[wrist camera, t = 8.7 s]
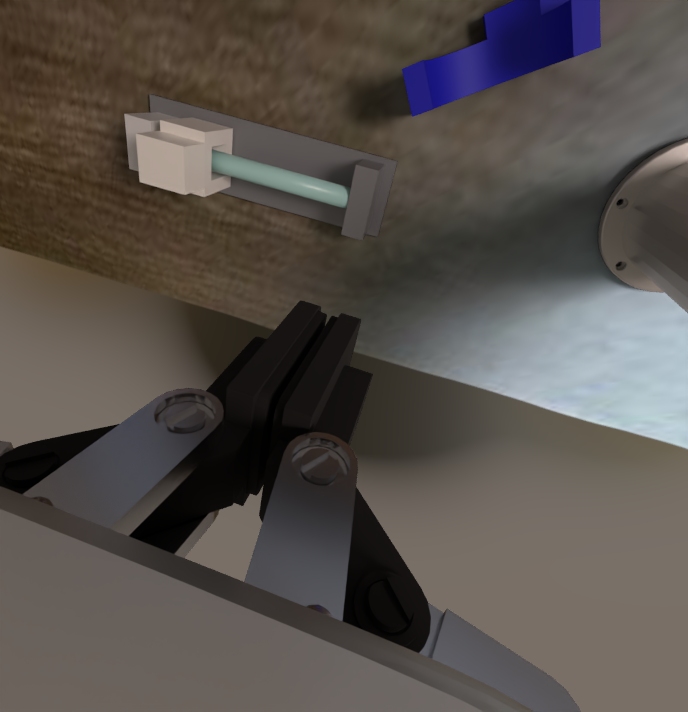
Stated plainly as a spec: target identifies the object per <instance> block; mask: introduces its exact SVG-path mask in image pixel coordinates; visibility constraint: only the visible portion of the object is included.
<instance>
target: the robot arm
mask: <svg viewBox="0 0 688 712" xmlns="http://www.w3.org/2000/svg"><path fill="white" fill-rule="evenodd" d="M619 199H622V201H621V203H620V204H616V203H617V201H618V200H619ZM598 245H599V249H600V253H601V256H602V258H603V260H604V262H605V264H606V265H607V267H608V268H609V269H610V270H611V271H612V273H613V274H614V275H616V276H617V277H618V278H619V279H620V280H621V281H623V282H624V283H626V284H628V285H630V286H632V287H634V288H638V289H641V290H645V291H650V292H661V293H664V292H665V293H666V294H667V295H668V296H669V297H670V298H671V299H673V300H674V301H675V302H676V303H677V304H678V305H679V306H680V307H681V308H683V309H684V310H685V311H686V312H687V313H688V139H685V140H681V141H678V142H676V143H674V144H672V145H669V146H667V147H665V148H663V149H661V150H659V151H657V152H656V153H654V154H653V155H651V156H650V157H648V158H647V159H645V160H644V161H642V162H641V163H640V164H639V165H638V166H637V167H636V168H634V169H633V170H632V171H631V172H630V173H629V174H628V175H627V176H626V177H625V178H624V179H623V180H622V182H621V183H620V184H619V185H618V186H617V187H616V189H615V190H614V192H613V194H612V195H611V197H610V198H609V200H608V202H607V204H606V206H605V209H604V211H603V213H602V216H601V220H600V225H599V229H598ZM620 261H621V262H620ZM618 262H620V264H618V265H616V264H617V263H618ZM326 318H327V314H325V313H322V312H321V306H317V305H314V304H311V303H308V302H305V301H299V302H298V304H297V305H296V306H295V307H294V308H293V309H292V311H291V312H290V313H289V314H288V315H287V317H286V318H285V319H284V320H283V321H282V322H281V324H280V325H279V326H278V327H277V328H276V330H275V331H274V332H273V333H272V334H271V335H270V337H269V338H268V339H264V338H261V337H255V338H254V339H253V340H252V341H251V342H250V343H249V344H248V345H247V346H246V347H245V349H244V350H243V351H242V352H241V353H240V354H239V355H238V356H237V357H236V358H235V359H234V361H233V362H232V363H231V364H230V365H229V366H228V367H227V368H226V369H225V371H224V372H223V373H222V374H221V375H220V376H219V377H218V378H217V379H216V380H215V382H214V383H213V384H212V385H211V386H210V387H209V388H208V389H207V390H206V391H204V390H201V389H192V388H185V389H176V390H173V391H169V392H166V393H164V394H163V395H160V396H159V397H157V398H155V399H154V400H153V401H151V402H150V403H149V404H147V405H146V406H144V407H143V408H142V409H140V410H139V411H137V412H136V413H135V414H133V415H132V416H131V417H129V418H128V419H126V420H125V421H124V422H122V423H121V424H117V425H113V426H108V427H103V428H98V429H93V430H89V431H84V432H79V433H74V434H69V435H65V436H60V437H55V438H50V439H45V440H40V441H36V442H32V443H28V444H25V445H22V446H19V447H16V448H13V446H12V444H11V442H3V441H0V712H581V711H580V709H579V707H578V706H577V704H576V703H575V701H574V700H573V698H572V697H571V696H570V694H569V693H568V691H567V690H566V689H565V688H564V687H563V686H562V685H560V684H559V683H558V682H557V681H556V680H555V679H554V678H552V677H551V676H550V675H548V674H547V673H545V672H544V671H542V670H540V669H539V668H538V667H536V666H534V665H533V664H531V663H530V662H528V661H527V660H525V659H524V658H522V657H521V656H519V655H518V654H516V653H514V652H513V651H511V650H510V649H508V648H507V647H505V646H504V645H502V644H500V643H499V642H498V641H496V640H495V639H493V638H492V637H490V636H488V635H487V634H485V633H484V632H482V631H481V630H479V629H478V628H476V627H475V626H473V625H472V624H470V623H468V622H467V621H465V620H464V619H462V618H461V617H459V616H458V615H456V614H455V613H453V612H452V611H450V610H449V609H446V611H445V612H444V613H443V612H442V611H440V610H438V609H437V608H435V607H434V606H433V605H431V604H430V603H428V601H427V599H426V597H425V596H424V593H423V591H422V589H421V587H420V586H419V584H418V583H417V581H416V580H415V578H414V576H413V575H412V573H411V572H410V570H409V569H408V567H407V565H406V564H405V562H404V561H403V559H402V558H401V556H400V555H399V553H398V551H397V550H396V548H395V547H394V545H393V544H392V542H391V540H390V539H389V537H388V536H387V534H386V533H385V531H384V530H383V528H382V526H381V525H380V523H379V522H378V520H377V519H376V517H375V515H374V514H373V512H372V511H371V509H370V508H369V506H368V504H367V503H366V501H365V500H364V499H363V497H362V495H361V494H360V492H359V490H358V489H357V487H356V483H357V474H358V462H357V458H356V456H355V454H354V452H353V450H352V449H351V448H350V443H351V440H352V437H353V434H354V431H355V429H356V425H357V423H358V420H359V417H360V414H361V411H362V408H363V404H364V401H365V398H366V395H367V392H368V389H369V386H370V382H371V379H372V376H373V374H371V373H368V372H365V371H362V370H359V369H356V368H353V367H350V366H349V365H350V361H351V358H352V354H353V350H354V346H355V343H356V339H357V335H358V331H359V327H360V323H361V319H359V318H356V317H352V316H349V315H346V314H343V313H341V314H340V316H339V317H334V316H332V317H331V318H330V319H329V321H328V323H327V324H326V326H325V323H326ZM263 484H264V486H263ZM262 486H263V492H262V500H261V506H260V513H259V516H260V519H261V521H262V526H261V529H260V532H259V535H258V539H257V542H256V545H255V549H254V552H253V555H252V558H251V562H250V565H249V568H248V571H247V574H246V578H245V581H244V582H243V581H240V580H238V579H235V578H232V577H230V576H228V575H225V574H222V573H220V572H218V571H215V570H212V569H210V568H207V567H205V566H202V565H200V564H197V563H195V562H192V561H189V560H187V559H185V556H186V555H187V554H188V553H189V551H190V550H191V549H192V548H193V546H194V545H195V544H196V543H197V542H198V540H199V539H200V538H201V537H202V535H203V534H204V533H205V532H206V531H207V529H208V528H209V527H210V526H211V524H212V523H213V522H214V520H215V519H216V517H217V515H218V513H219V510H220V509H223V508H226V507H228V506H231V505H233V503H236V504H239V505H241V506H243V505H244V503H245V501H246V499H247V498H248V496H249V494H253V495H257V494H258V493H259V492H260V490H261V488H262Z"/></svg>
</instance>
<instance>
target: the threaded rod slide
mask: <svg viewBox="0 0 688 712" xmlns="http://www.w3.org/2000/svg"><path fill="white" fill-rule="evenodd" d="M149 97H150V113H133V114H124V115H125V126H126V137H127V148H128V159H129V169H132V170H135V171H139V167H138V154H137V142H136V133H144V132H153V131H160V120H165V119H179V118H192V117H193V118H197V119H200V120H204V121H208V122H211V123H215V124H219V125H222V126H226V127H229V128H233V140H232V155H231V154H228V153H224V152H220V151H217V150H213V149H212V162H211V171H213V172H217V173H221V174H224V175H228V176H231V184H230V187H228V188H226V189H223V190H221V191H218V192H221V193H224V194H228V195H231V196H235V197H238V198H242V199H245V200H249V201H252V202H256V203H259V204H263V205H266V206H270V207H273V208H277V209H280V210H284V211H287V212H291V213H294V214H298V215H301V216H305V217H308V218H312V219H315V220H319V221H322V222H326V223H329V224H333V225H336V226H340V227H343V228H342V233H341V235H344V236H347V237H351V238H354V239H358V240H361V241H362V240H363V238H364V237H365V235H366V234H368V235H371V236H375V237H378V234H379V230H380V226H381V222H382V219H383V215H384V211H385V207H386V203H387V200H388V196H389V192H390V188H391V185H392V181H393V177H394V173H395V169H396V166H397V162H398V161H396V160H392V159H388V158H385V157H381V156H377V155H374V154H370V153H366V152H362V151H359V150H355V149H351V148H348V147H344V146H340V145H337V144H333V143H329V142H326V141H322V140H318V139H315V138H311V137H307V136H304V135H300V134H296V133H293V132H289V131H285V130H282V129H278V128H274V127H271V126H267V125H263V124H259V123H256V122H252V121H248V120H245V119H241V118H237V117H234V116H230V115H226V114H223V113H219V112H215V111H212V110H208V109H204V108H201V107H197V106H193V105H190V104H186V103H182V102H179V101H175V100H171V99H168V98H164V97H160V96H157V95H153V94H149Z"/></svg>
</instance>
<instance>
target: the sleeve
mask: <svg viewBox="0 0 688 712" xmlns="http://www.w3.org/2000/svg"><path fill="white" fill-rule="evenodd" d="M232 140H233V128H229V127H226V126H222V125H219V124H215V123H211V122H208V121H204V120H200V119H197V118H193V117H192V118H179V119H165V120H160V131H153V132H144V133H136V142H137V154H138V167H139V180H140V182H141V183H145V184H148V185H152V186H155V187H159V188H162V189H166V190H169V191H173V192H176V193H180V194H183V195H186V194H189V193H192V194H195V195H199V196H202V197H206V196H208V195H211V194H213V193H216V192H218V191H221V190H223V189H226V188H228V187H230V184H231V176H228V175H224V174H221V173H217V172H213V171H211V162H212V149H213V150H217V151H220V152H224V153H228V154H231V155H232Z"/></svg>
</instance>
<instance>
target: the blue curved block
mask: <svg viewBox="0 0 688 712" xmlns="http://www.w3.org/2000/svg"><path fill="white" fill-rule="evenodd" d="M483 22H484V30H485V38H486V40H485V41H482V42H480V43H477V44H475V45H472V46H470V47H467V48H464V49H462V50H459V51H456V52H454V53H451V54H448V55H445V56H442V57H439V58H435V59H432V60H426V61H424V60H423V61H420V62H418V63H415V64H413V65H411V66H408V67H406V68H403V69H402V71H403V76H404V81H405V85H406V90H407V95H408V99H409V104H410V109H411V114H412V117H413V116H416V115H418V114H421V113H424V112H426V111H429V110H432V109H434V108H436V107H439V106H442V105H444V104H447V103H449V102H452V101H454V100H457V99H460V98H462V97H465V96H468V95H470V94H473V93H476V92H478V91H481V90H484V89H486V88H489V87H492V86H494V85H497V84H500V83H502V82H505V81H508V80H511V79H513V78H516V77H519V76H522V75H524V74H527V73H530V72H532V71H535V70H538V69H541V68H544V67H546V66H549V65H552V64H555V63H558V62H560V61H563V60H566V59H569V58H572V57H575V56H578V55H580V54H583V53H586V52H588V51H591V50H594V49H596V48H599V47H601V40H600V0H515V1H513V2H510V3H508V4H506V5H504V6H502V7H500V8H498V9H496V10H493V11H491V12H489V13H487V14H484V16H483Z"/></svg>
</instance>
